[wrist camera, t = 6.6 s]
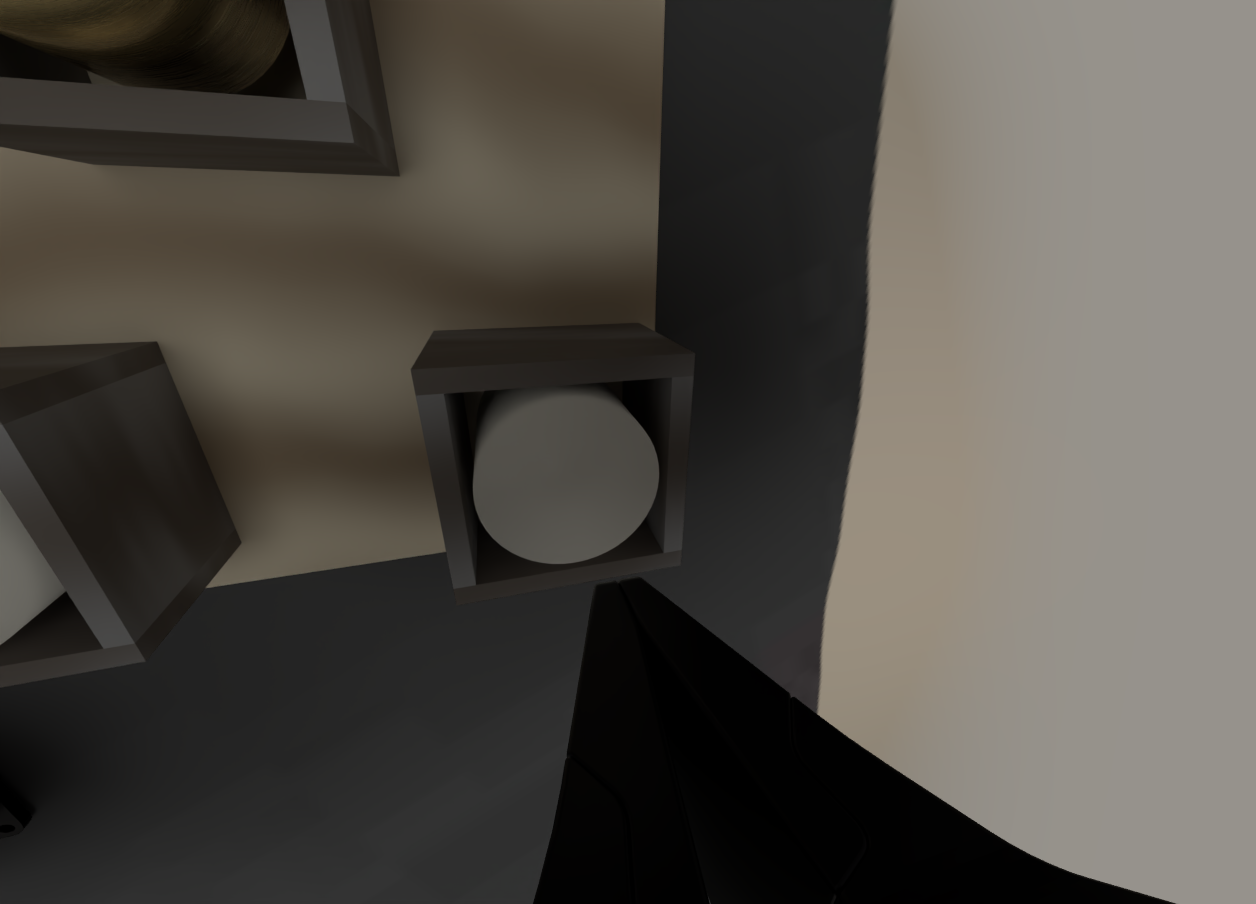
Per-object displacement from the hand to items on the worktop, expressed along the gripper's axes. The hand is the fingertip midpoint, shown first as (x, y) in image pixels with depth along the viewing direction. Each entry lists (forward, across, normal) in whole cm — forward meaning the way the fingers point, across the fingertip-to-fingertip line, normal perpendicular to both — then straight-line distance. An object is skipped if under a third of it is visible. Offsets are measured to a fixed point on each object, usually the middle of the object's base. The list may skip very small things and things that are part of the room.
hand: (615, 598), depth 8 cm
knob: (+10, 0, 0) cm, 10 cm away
